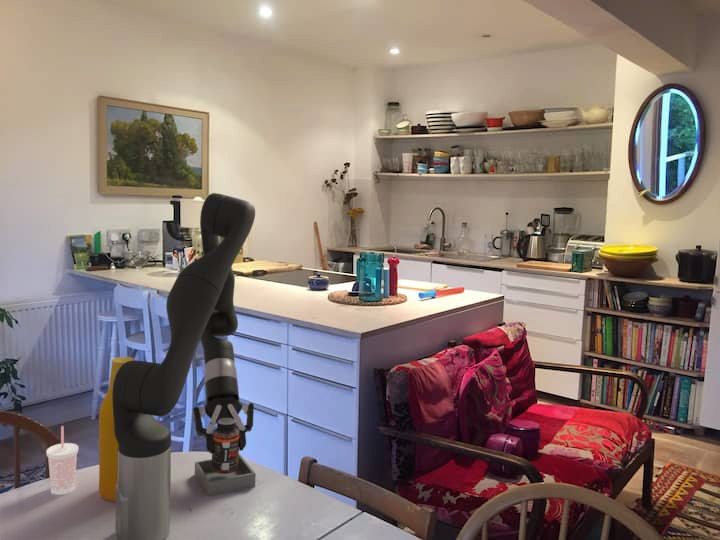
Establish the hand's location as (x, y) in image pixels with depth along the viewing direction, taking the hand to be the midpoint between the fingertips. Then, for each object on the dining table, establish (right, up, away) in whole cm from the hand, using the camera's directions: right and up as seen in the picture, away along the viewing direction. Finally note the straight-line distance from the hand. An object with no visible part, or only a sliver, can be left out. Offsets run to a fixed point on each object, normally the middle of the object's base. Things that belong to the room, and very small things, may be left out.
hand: (226, 450), depth 132 cm
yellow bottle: (-21, -7, -5) cm, 23 cm away
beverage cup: (-34, -7, -5) cm, 35 cm away
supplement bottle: (-1, -5, +2) cm, 6 cm away
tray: (-1, -7, +2) cm, 8 cm away
